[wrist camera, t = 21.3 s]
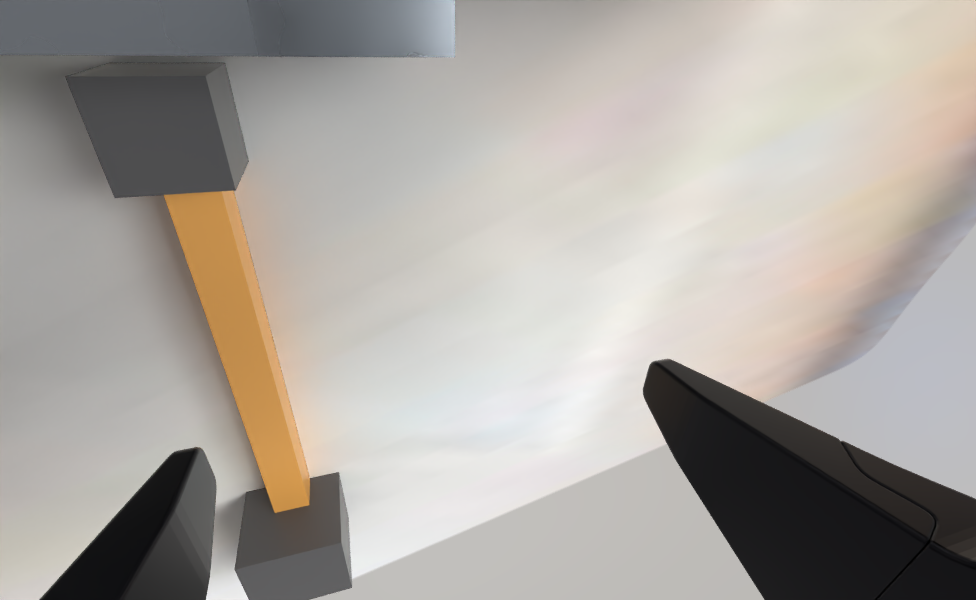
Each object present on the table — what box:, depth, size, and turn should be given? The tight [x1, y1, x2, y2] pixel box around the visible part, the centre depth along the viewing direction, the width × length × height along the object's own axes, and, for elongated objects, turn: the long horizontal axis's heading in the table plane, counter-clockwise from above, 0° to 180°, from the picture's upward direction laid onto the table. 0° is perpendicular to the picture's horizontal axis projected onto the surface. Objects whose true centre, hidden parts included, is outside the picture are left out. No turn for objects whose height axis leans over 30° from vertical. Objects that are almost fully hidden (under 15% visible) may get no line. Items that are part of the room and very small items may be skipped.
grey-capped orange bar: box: [65, 63, 352, 600], centre depth 19 cm, size 24×4×4 cm, turn 178°
